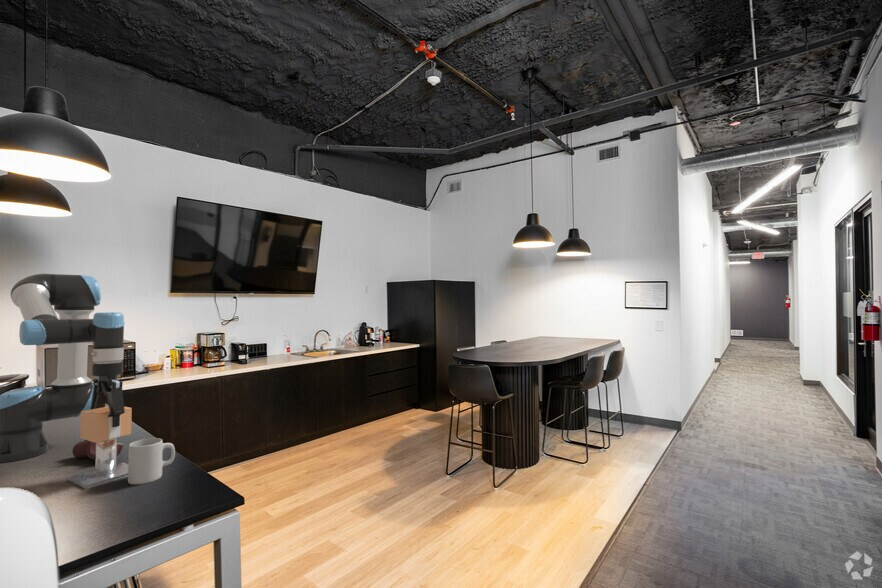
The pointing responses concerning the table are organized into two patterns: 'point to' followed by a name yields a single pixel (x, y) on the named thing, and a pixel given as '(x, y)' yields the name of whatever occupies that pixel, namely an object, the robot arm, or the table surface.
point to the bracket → (89, 449)
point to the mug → (147, 460)
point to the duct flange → (103, 466)
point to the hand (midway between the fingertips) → (106, 435)
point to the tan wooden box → (102, 424)
